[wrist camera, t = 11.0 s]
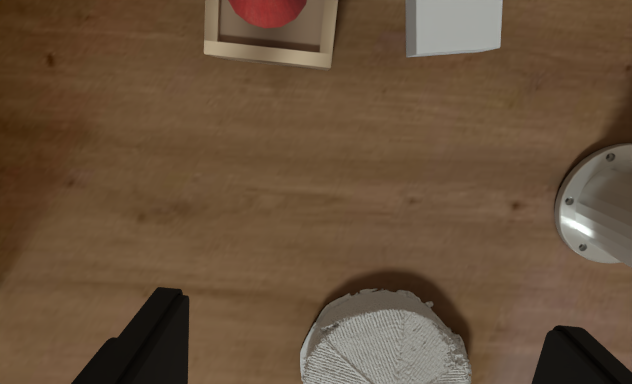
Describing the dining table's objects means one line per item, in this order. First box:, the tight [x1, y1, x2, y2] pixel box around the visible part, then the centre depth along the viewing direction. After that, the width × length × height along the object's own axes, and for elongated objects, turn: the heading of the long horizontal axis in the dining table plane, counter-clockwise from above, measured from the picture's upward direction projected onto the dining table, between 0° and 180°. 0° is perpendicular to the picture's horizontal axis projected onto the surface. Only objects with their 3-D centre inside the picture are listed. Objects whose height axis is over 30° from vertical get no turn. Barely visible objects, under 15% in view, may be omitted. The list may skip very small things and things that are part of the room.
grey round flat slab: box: [300, 288, 471, 384], centre depth 43 cm, size 20×20×7 cm
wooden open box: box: [204, 0, 338, 71], centre depth 32 cm, size 10×10×7 cm
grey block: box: [406, 0, 503, 57], centre depth 34 cm, size 7×7×4 cm
